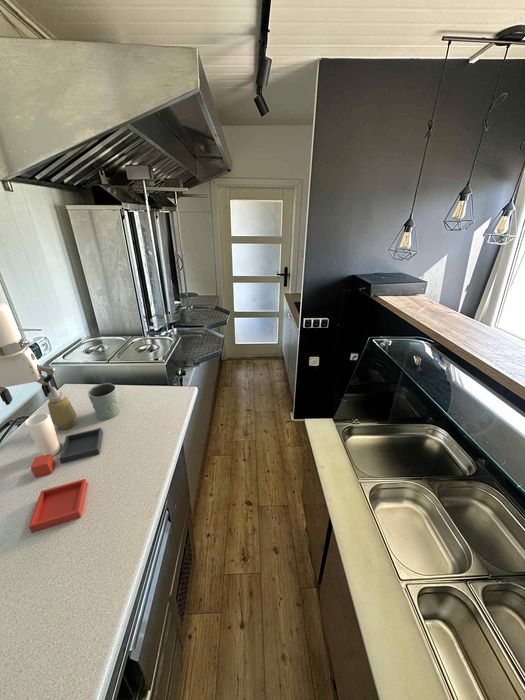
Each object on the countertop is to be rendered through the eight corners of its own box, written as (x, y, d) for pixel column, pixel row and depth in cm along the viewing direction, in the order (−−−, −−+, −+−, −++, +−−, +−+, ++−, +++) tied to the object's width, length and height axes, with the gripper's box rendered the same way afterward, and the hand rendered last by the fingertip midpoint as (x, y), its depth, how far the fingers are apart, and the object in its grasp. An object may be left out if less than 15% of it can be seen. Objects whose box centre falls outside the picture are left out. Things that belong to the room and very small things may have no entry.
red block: (35, 477, 92) (30, 467, 90) (39, 467, 95) (34, 457, 93) (51, 473, 93) (47, 463, 91) (55, 463, 97) (50, 453, 95)
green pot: (98, 408, 124) (91, 384, 119) (124, 404, 126) (117, 381, 121) (93, 423, 115) (84, 398, 110) (120, 418, 117) (113, 394, 112)
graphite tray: (61, 463, 97) (58, 458, 95) (68, 440, 106) (66, 435, 105) (99, 454, 100) (97, 448, 99) (103, 432, 110) (101, 427, 109)
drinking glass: (39, 451, 102) (23, 418, 95) (61, 442, 106) (48, 409, 99) (41, 462, 97) (25, 428, 90) (64, 453, 101) (50, 419, 94)
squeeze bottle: (53, 424, 114) (37, 387, 107) (76, 416, 119) (62, 379, 111) (57, 435, 109) (40, 396, 101) (81, 425, 114) (67, 387, 106)
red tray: (31, 533, 76) (28, 527, 75) (43, 496, 85) (41, 490, 84) (81, 517, 79) (78, 511, 78) (87, 484, 89) (85, 478, 88)
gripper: (46, 337, 85) (64, 385, 93) (-28, 347, 79) (-2, 398, 87) (41, 347, 79) (60, 398, 87) (-40, 359, 73) (-12, 413, 80)
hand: (29, 398), depth 87 cm, fingers open, 9 cm apart
